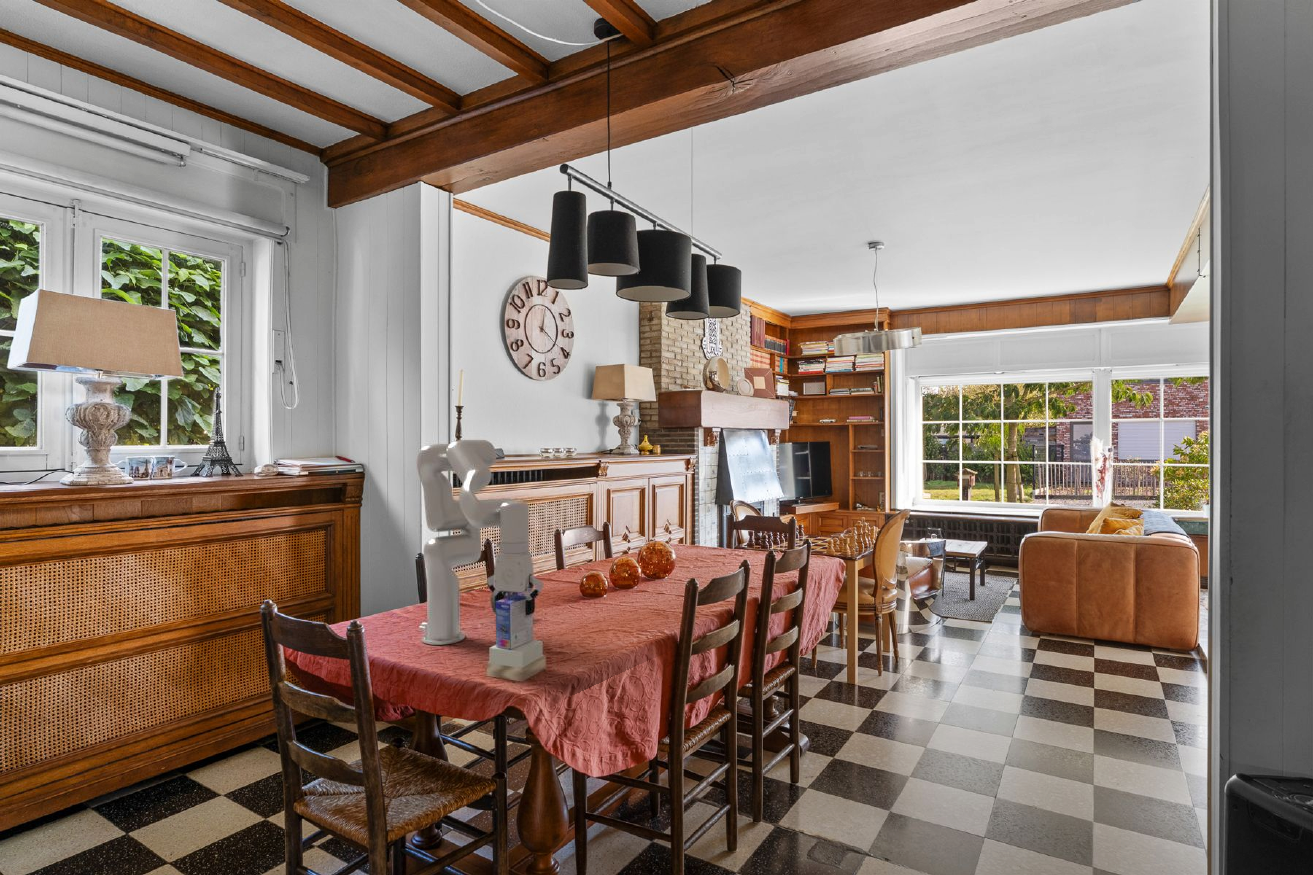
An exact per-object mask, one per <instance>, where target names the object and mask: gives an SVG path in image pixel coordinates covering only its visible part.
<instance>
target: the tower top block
mask: <svg viewBox="0 0 1313 875" xmlns="http://www.w3.org/2000/svg"><path fill="white" fill-rule="evenodd" d="M543 644H544V643H543V641H541V640H535V639H533V640H531V641H529V642H526V643H524V644H522V645H520V646H517V647H515V648H513V649H510V650H509V649H505V648H500V647H496V644H494V645H493V646H492V645H491V647H489V648H488V649H489V650H488V651H489V654H488V655H489V656H488V660H489V661H488V662H489V663H491V664H498V665H505V666H512V667H519V668H523V667H525V666H527V665H528V664H530V663H532V662H533V661H535V660H537V659H539V658H540V657H542V656H543V655H544V653H543V651H544V650H543V649H544V648H543Z"/></svg>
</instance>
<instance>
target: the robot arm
mask: <svg viewBox="0 0 1313 875" xmlns="http://www.w3.org/2000/svg"><path fill="white" fill-rule="evenodd" d="M496 460H497V452H496V449H495V447H494V445H493V443H491V442H490V441H489V440H487V439H461V440H460V439H459V440H455V441H453V442H451V443H435V444H434V443H433V444H428V445H426V446H425V445H424V446H423V447H422V448H421V449H420V450H419V451H418V453H417V458H416V468H417V469H416V470H417V473H418V476H419V479H420V482H421V485H422V488H423V500H424V511H425V512H424V514H425V522H426V525H427V528H428V530H429V531H431V532H434V533H435V532H436V533H441V532H443V533H444V532H453V531H459V533H460V534H450V535H441V536H435V537H433V538H431V539H429V540H428V541H427V542H425V544H424V547H423V558H424V563H425V570H426V592H427V593H426V598H427V600H426V601H427V602H426V608H427V609H426V610H427V611H426V615H427V617H426V618H427V619H426V620H427V621H426V622H425V621H424V622H422V623H421V624H420V625H419V627H418V631H424V634H423V635H422V637H421V642H422V643H424V644H427V645H433V646H440V645H441V646H442V645H449V644H450V645H451V644H456V643H458V642H460V641H463V640H464V639H465V636H466V633H465V631H463V630H460V628H461V627H460V626H461V624H460V621H461V620H460V617H461V616H460V615H461V614H460V611H461V610H460V609H461V608H460V601H461V600H460V599H461V598H460V592H461V591H460V579H459V577H458V575H457V574H456V573H455V571H454V570H453V567H458V566H463V565H471V564H474V563H476V562H478V561H479V560H480V558H481V555H482V539H481V538H482V536H481V529H486V528H487V529H488V528H495V527H499V542H497V544H496V547H497V548H499V552H497V554H496V558H495V563H494V564H495V565H494V573H493V575H491V576H489V577H487V578H486V582H487V584H488V586H489V590H490V591H491V594H492V593H493V596H495V611H496V601H499V600H502V599H504V594H502V593H503V591H505V592H514V593H520V594H525V596H526V597H527V599H528V600H526V601H525V614H526V615H530V614H533V615H534V614H535V609H536V601H535V600H536V598H537V597H538V596H539V595H540V593H541V592H542V589H543V587H544V583H543V581H540V579H538V578H536V577H535V575H534V565H533V558H532V554H531V552H530V546H529V545H530V541H529V540H530V539H529V538H530V537H529V536H530V527H529V526H530V517H529V516H530V513H529V512H530V506H529V504H528V503H527V502H526V501H524V500H523V501H521V500H515V499H513V498H510V497H508V498H506V497H505V498H492V499H491V498H489V499H479V498H478V497H477V496H476V493H478V492H480V491H482V490H484V489H485V488H486V487H487V486H488V485H489V484H490V482H491V480H492V475H493V474H492V472H491V469H490V467H492V466H494V464H495V462H496ZM443 472H454V473H455V474H456V476H457V477H458V479H459V480H460V483H461V484H462V485H461V487H460V490H459V493H458V495H459V496H458V499H454V497H453V496H454V494H453V486H452V483H451V481H450V480H449V479H448V477H447V476H446V475H445V474H444V473H443ZM534 586H535V588H534Z"/></svg>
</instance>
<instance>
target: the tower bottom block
mask: <svg viewBox="0 0 1313 875" xmlns="http://www.w3.org/2000/svg"><path fill="white" fill-rule="evenodd" d="M546 656H547V655H545V654H543V656H542V657H540V658H539V659H537V660H535V661H533V662H532V663H530V664H528V665H527V666H525V667H523V668H519V667H512V666H505V665H498V664H491V663H489V661H487V663H486V676H487V677H493V678H497V679H503V680H510V681H517V682H522V683H523V682H525V681H527V680H528V679H529V678H531V677H533V676H534V675H536V674H538V673H540V672H542V671H543V670H545V669H546V664H547V663H546Z"/></svg>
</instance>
